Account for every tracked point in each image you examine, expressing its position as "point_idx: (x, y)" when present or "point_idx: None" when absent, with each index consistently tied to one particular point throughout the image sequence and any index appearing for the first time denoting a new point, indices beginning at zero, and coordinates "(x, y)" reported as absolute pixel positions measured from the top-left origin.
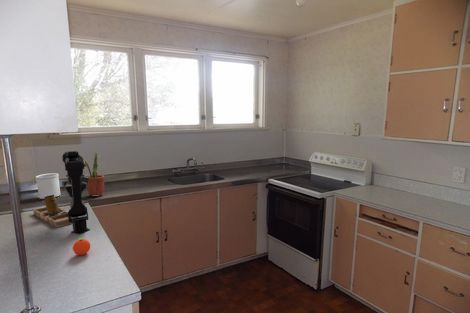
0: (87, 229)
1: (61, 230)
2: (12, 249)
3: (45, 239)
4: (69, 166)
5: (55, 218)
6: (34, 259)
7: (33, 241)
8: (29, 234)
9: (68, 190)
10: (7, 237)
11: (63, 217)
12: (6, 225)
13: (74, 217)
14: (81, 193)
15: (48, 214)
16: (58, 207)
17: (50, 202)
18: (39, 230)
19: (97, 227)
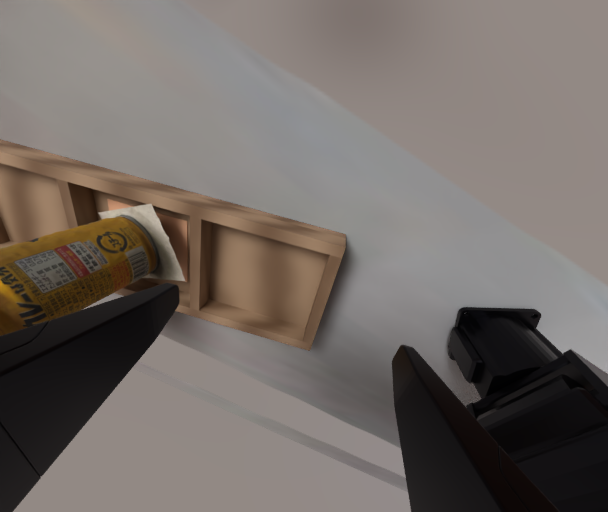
0: (532, 322)
1: (370, 344)
2: (358, 458)
3: (391, 409)
4: None
5: (207, 280)
6: None
7: (363, 423)
8: (283, 390)
9: (51, 443)
10: (244, 414)
11: (213, 241)
12: None
13: (335, 268)
14: (536, 493)
15: None
16: (103, 243)
17: (57, 317)
18: (275, 362)
19: (567, 267)
